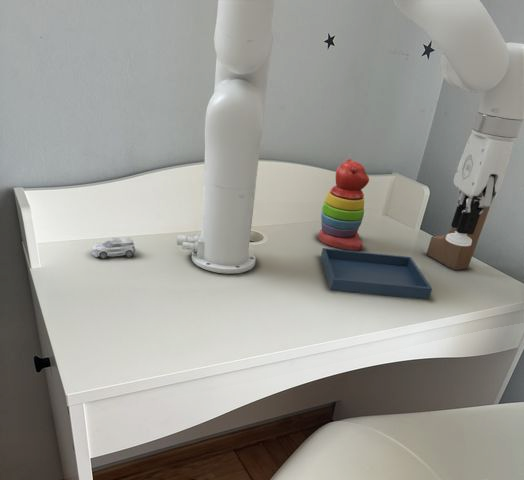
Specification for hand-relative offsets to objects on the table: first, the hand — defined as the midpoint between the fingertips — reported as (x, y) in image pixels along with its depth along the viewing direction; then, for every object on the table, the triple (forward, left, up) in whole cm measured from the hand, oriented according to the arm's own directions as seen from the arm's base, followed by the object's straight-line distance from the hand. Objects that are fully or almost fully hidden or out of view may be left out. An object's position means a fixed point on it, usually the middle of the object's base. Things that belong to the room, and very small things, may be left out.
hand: (462, 229), depth 98 cm
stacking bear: (-19, +20, -12) cm, 30 cm away
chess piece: (0, 0, -3) cm, 3 cm away
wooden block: (+5, +14, -12) cm, 19 cm away
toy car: (-66, 0, -12) cm, 67 cm away
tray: (-15, +1, -12) cm, 19 cm away
